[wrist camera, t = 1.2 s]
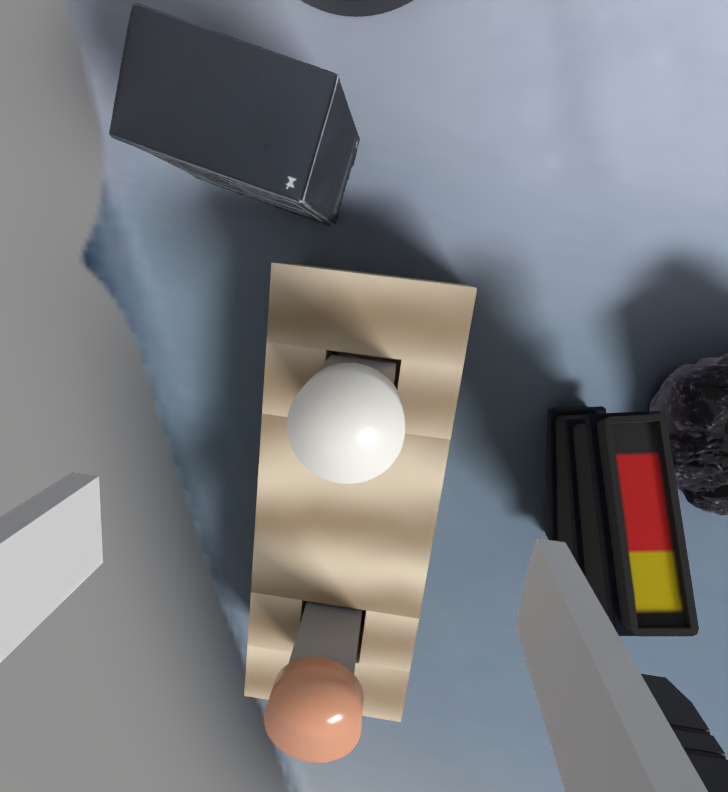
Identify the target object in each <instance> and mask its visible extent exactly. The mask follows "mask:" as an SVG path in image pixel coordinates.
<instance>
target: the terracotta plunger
mask: <svg viewBox="0 0 728 792" xmlns="http://www.w3.org/2000/svg"><path fill="white" fill-rule="evenodd" d="M361 616H362V610H356V609H350V608H344V607H337V606H331V605H325V604H318V603H312V602H307V603H306V606H305V609H304V613H303V616H302V619H301V623H300V626H299V630H298V633H297V636H296V640H295V643H294V646H293V650H292V653H291V657H290V660H289V664H287V665H286V666H285V667H283V668H282V669H281V671H280V672H279V673H278V675H277V677H276V679H275V682H274V685H273V688H272V691H271V694H270V697H269V700H268V704H267V707H266V710H265V714H264V724H265V728H266V731H267V733H268V735H269V737H270V739H271V740H272V742H273V743H274V744H275V745H276V746H277V747H278V748H279V749H280V750H282V751H283V752H285V753H286V754H288V755H290V756H292V757H294V758H296V759H299V760H302V761H307V762H314V763H322V762H330V761H334V760H337V759H339V758H342V757H344V756H345V755H347V754H348V753H349V752H350V751H352V749H353V748H354V747H355V746H356V744H357V743H358V740H359V738H360V733H361V724H362V713H363V703H364V694H363V689H362V686H361V684H360V682H359V680H358V679H357V677H356V676H355V675H354V671H355V663H356V655H357V648H358V640H359V632H360V624H361Z"/></svg>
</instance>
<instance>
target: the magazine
mask: <svg viewBox="0 0 728 792" xmlns="http://www.w3.org/2000/svg"><path fill="white" fill-rule="evenodd" d="M545 533H546V535H547V537H548V539H549V540H552V541H559V542H565V543H566V544H567V546H568V548H569V550H570V551H571V553H572V555H573V557H574V558H575V560H576V562H577V564H578V565H579V567H580V569H581V571H582V572H583V574H584V576H585V578H586V579H587V581H588V583H589V585H590V586H591V588H592V590H593V592H594V593H595V595H596V597H597V599H598V600H599V602H600V604H601V606H602V607H603V609H604V611H605V613H606V614H607V616H608V617H609V620H610V621H611V623H612V625H613V627H614V628H615V630H616V632H617V634H618V635H619V636H694V635H696V634H697V633H698V629H699V627H698V621H697V614H696V608H695V601H694V595H693V588H692V582H691V575H690V569H689V562H688V556H687V549H686V543H685V536H684V530H683V523H682V517H681V510H680V503H679V497H678V490H677V484H676V477H675V471H674V464H673V458H672V451H671V445H670V438H669V432H668V425H667V420H666V418H665V417H664V416H663V415H661V414H660V411H647V412H625V413H606V409H605V408H604V407H566V408H552V409H549V410H548V432H547V478H546V524H545Z"/></svg>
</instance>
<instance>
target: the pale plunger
mask: <svg viewBox="0 0 728 792" xmlns="http://www.w3.org/2000/svg"><path fill="white" fill-rule="evenodd" d="M395 369H396V363H392V362H384V361H377V360H369V359H361V358H354V357H346V356H339V355H331V356H330V357H329V358H328V359H327V360H326V361H325V363H324V364H323V365H322V366H321V367H320V368H319V370H318V371H317V372H316V373H315V375H314V376H313V377H311V378H310V379H309V381H308V382H307V383H306V384H305V385H304V386H303V388H302V389H301V390H300V391H299V392H298V393H297V395H296V396H295V398H294V400H293V402H292V404H291V406H290V409H289V412H288V418H287V433H288V438H289V442H290V445H291V447H292V450H293V451H294V453H295V455H296V457H297V458H298V459H299V461H300V462H301V463H302V464H303V465H304V466H305V467H306V468H307V469H308V470H310V471H311V472H312V473H314V474H315V475H317V476H319V477H321V478H323V479H325V480H328V481H331V482H336V483H342V484H355V483H361V482H365V481H368V480H371V479H373V478H375V477H377V476H379V475H380V474H382V473H383V472H384V471H386V470H387V469H388V468H389V467H390V466H391V465H392V464H393V462H394V461H395V460H396V458H397V457H398V455H399V453H400V451H401V448H402V445H403V441H404V436H405V410H404V405H403V401H402V399H401V396H400V394H399V392H398V390H397V389H396V387H395V386H394V380H395Z"/></svg>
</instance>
